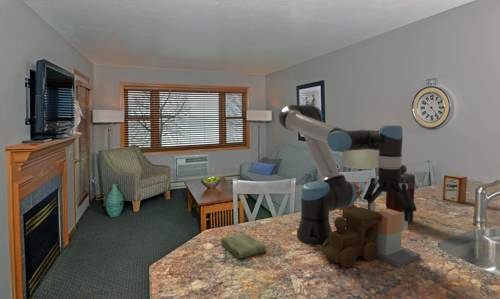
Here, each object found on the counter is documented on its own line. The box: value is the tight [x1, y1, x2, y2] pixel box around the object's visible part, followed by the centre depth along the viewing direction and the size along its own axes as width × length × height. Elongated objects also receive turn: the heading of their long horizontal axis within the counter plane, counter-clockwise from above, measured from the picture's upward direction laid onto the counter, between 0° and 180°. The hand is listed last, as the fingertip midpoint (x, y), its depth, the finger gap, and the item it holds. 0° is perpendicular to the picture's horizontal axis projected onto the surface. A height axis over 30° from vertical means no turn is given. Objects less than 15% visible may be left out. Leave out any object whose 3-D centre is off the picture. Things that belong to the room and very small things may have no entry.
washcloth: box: [220, 233, 267, 259], centre depth 114 cm, size 13×18×3 cm
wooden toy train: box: [321, 207, 382, 268], centre depth 104 cm, size 20×11×17 cm, turn 116°
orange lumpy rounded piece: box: [338, 181, 361, 212], centre depth 152 cm, size 11×11×18 cm
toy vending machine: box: [385, 164, 416, 223], centre depth 142 cm, size 9×11×28 cm
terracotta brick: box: [376, 208, 403, 236], centre depth 107 cm, size 9×6×7 cm, turn 120°
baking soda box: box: [442, 174, 468, 205], centre depth 176 cm, size 10×6×16 cm
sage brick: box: [376, 230, 403, 254], centre depth 108 cm, size 9×6×7 cm, turn 120°
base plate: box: [375, 246, 421, 268], centre depth 108 cm, size 13×18×2 cm
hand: (387, 223), depth 107 cm, fingers open, 12 cm apart
